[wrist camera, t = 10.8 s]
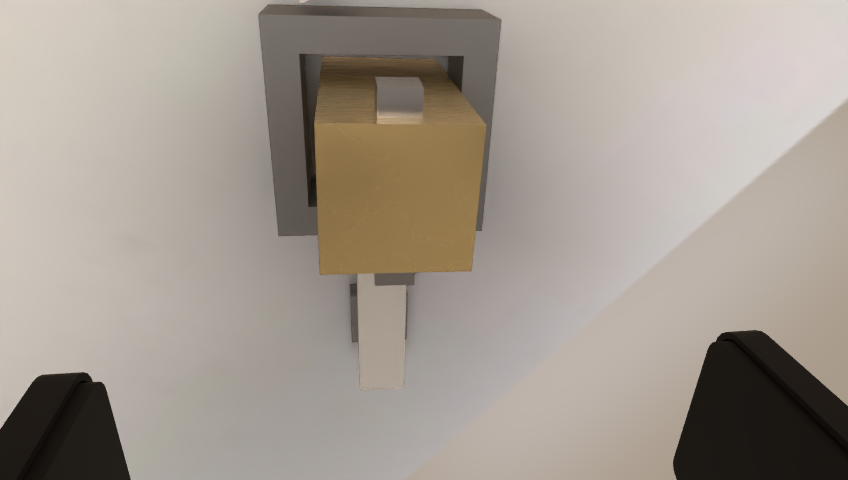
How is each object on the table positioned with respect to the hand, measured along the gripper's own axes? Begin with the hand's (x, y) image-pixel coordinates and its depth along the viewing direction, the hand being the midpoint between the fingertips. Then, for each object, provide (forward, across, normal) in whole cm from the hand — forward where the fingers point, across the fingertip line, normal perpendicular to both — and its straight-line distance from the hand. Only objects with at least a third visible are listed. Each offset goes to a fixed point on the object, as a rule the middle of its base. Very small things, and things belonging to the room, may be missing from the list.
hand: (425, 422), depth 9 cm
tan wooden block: (+17, 0, -1) cm, 17 cm away
